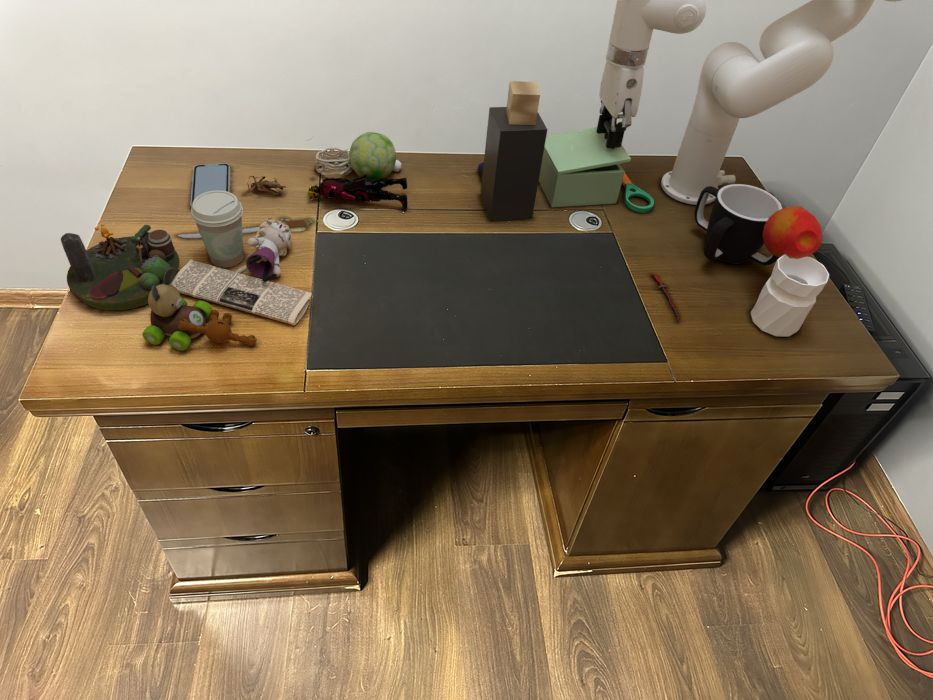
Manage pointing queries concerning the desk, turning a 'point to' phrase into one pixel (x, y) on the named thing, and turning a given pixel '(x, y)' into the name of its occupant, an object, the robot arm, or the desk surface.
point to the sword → (293, 226)
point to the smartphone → (210, 179)
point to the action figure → (359, 189)
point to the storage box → (580, 185)
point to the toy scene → (119, 267)
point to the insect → (265, 185)
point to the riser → (511, 166)
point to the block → (522, 103)
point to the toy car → (173, 315)
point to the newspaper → (242, 292)
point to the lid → (583, 150)
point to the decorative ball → (372, 156)
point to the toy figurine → (218, 329)
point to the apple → (792, 233)
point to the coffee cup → (220, 226)
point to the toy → (268, 249)
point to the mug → (736, 223)
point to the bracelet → (326, 159)
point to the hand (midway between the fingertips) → (608, 139)
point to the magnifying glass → (636, 192)
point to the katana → (666, 295)
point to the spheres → (397, 166)
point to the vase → (789, 295)
